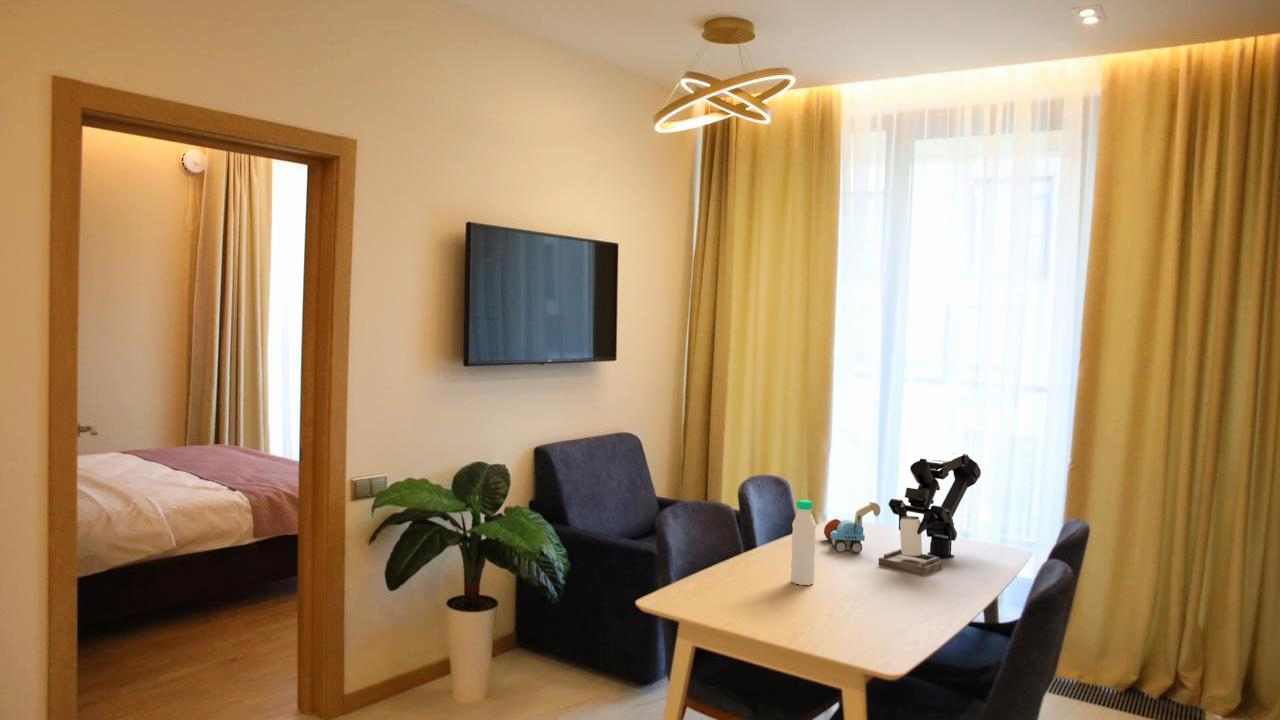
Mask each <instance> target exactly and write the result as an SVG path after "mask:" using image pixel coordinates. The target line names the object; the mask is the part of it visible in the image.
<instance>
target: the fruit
mask: <svg viewBox="0 0 1280 720" xmlns="http://www.w3.org/2000/svg"><path fill="white" fill-rule="evenodd" d="M840 522H842V521H841V520H840V519H837V518H835V519H831V520H830V521H829V522H827V523H826V524H825V526H824V529H823V535H824V537H825V539H827V540H828V541H830V540H831V532H832V531H836V530H837V527H838V525H839V523H840Z"/></svg>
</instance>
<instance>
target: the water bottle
mask: <svg viewBox="0 0 1280 720" xmlns="http://www.w3.org/2000/svg"><path fill="white" fill-rule="evenodd" d="M813 507H814V504H813V501H811V500H809V499H807V500H806V499H800V500H797V501H796V510H797V513H796V515H795V518H794V519H793V521H792V524H791V525H792V532H791V533H792V535H791V563H790V568H791V571H790V582H791V583H792V582H793V584H794V583H795V584H794V585H796V584H799V585H798V586H802V585H808V586H812V585H813V584H814V583H815V566H816V562H815V555H816V554H815V553H816V528H817V524H816V522H815V519H814V516H813V515H812V511H813ZM811 584H812V585H811Z"/></svg>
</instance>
